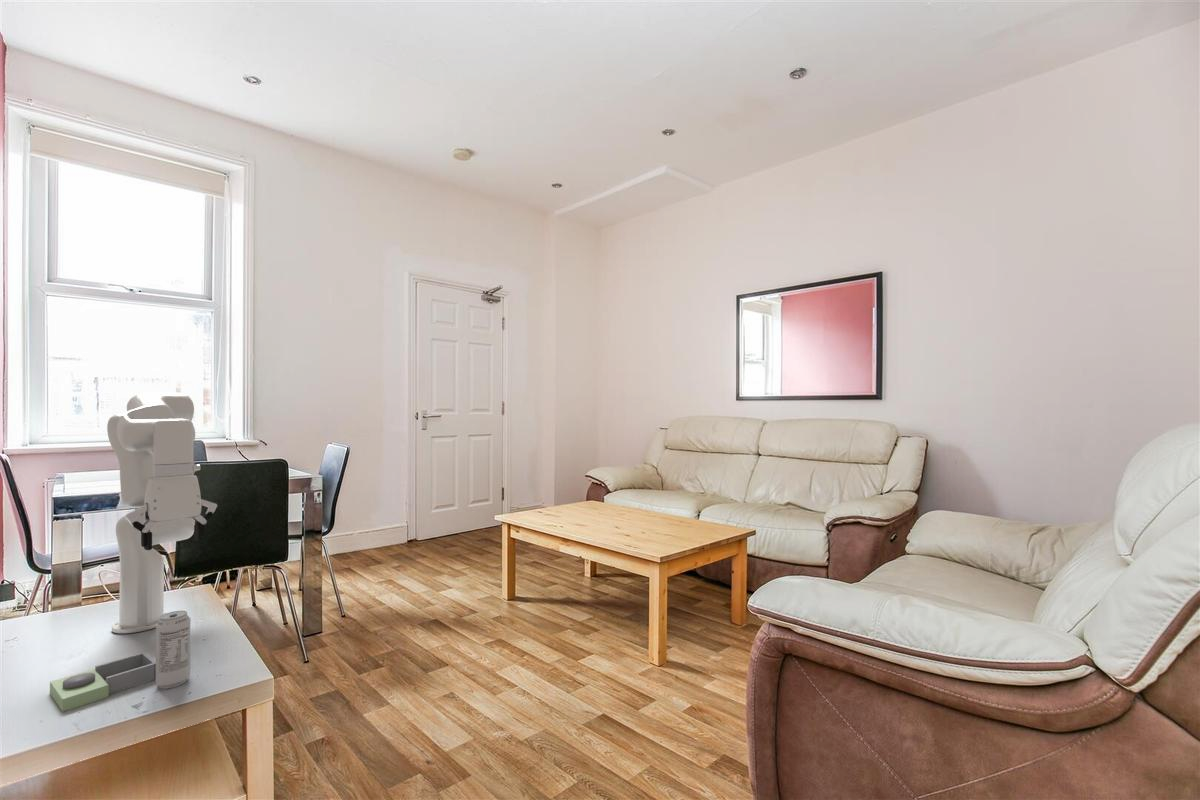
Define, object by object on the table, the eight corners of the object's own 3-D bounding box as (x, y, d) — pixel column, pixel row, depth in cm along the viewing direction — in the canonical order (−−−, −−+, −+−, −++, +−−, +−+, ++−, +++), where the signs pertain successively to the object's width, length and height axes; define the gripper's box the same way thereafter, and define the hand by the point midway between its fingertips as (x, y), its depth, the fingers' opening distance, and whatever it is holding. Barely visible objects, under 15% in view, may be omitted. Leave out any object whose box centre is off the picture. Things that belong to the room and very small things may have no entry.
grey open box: (49, 693, 116) (50, 676, 116) (143, 665, 129) (143, 650, 129) (62, 711, 109) (62, 694, 109) (160, 679, 122) (160, 664, 122)
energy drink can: (190, 673, 125) (191, 607, 125) (189, 684, 120) (189, 616, 120) (157, 681, 121) (157, 613, 122) (153, 692, 116) (154, 622, 117)
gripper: (210, 468, 137) (210, 536, 137) (121, 474, 123) (121, 551, 123) (222, 468, 133) (222, 539, 132) (131, 475, 119) (131, 554, 118)
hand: (173, 545), depth 127 cm, fingers open, 9 cm apart
